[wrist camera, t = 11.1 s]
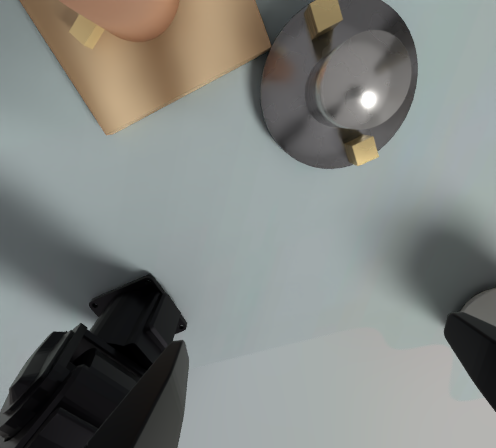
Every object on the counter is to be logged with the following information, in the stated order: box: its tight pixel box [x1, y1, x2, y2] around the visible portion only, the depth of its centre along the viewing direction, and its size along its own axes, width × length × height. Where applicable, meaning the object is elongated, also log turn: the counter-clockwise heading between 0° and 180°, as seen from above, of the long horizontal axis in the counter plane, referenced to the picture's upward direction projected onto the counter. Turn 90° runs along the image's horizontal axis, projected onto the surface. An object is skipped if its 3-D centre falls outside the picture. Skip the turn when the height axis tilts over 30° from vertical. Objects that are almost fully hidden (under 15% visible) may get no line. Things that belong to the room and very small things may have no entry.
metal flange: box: [260, 0, 418, 169], centre depth 15 cm, size 10×10×5 cm
